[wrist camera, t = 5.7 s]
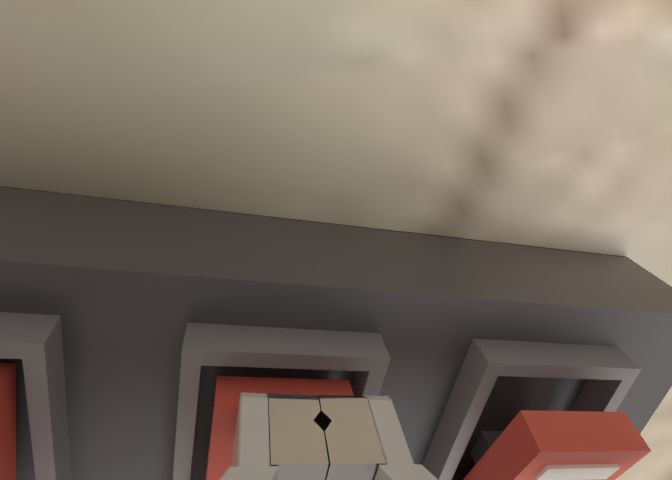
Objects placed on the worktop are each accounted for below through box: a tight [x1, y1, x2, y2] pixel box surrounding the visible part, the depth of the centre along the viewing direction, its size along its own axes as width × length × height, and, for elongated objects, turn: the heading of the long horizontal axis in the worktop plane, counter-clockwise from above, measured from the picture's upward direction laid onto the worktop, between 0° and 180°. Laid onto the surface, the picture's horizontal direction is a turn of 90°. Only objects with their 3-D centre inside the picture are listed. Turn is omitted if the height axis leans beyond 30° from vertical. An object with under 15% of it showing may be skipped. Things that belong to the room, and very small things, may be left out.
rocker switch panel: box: [0, 187, 672, 480], centre depth 13 cm, size 28×10×4 cm, turn 79°
